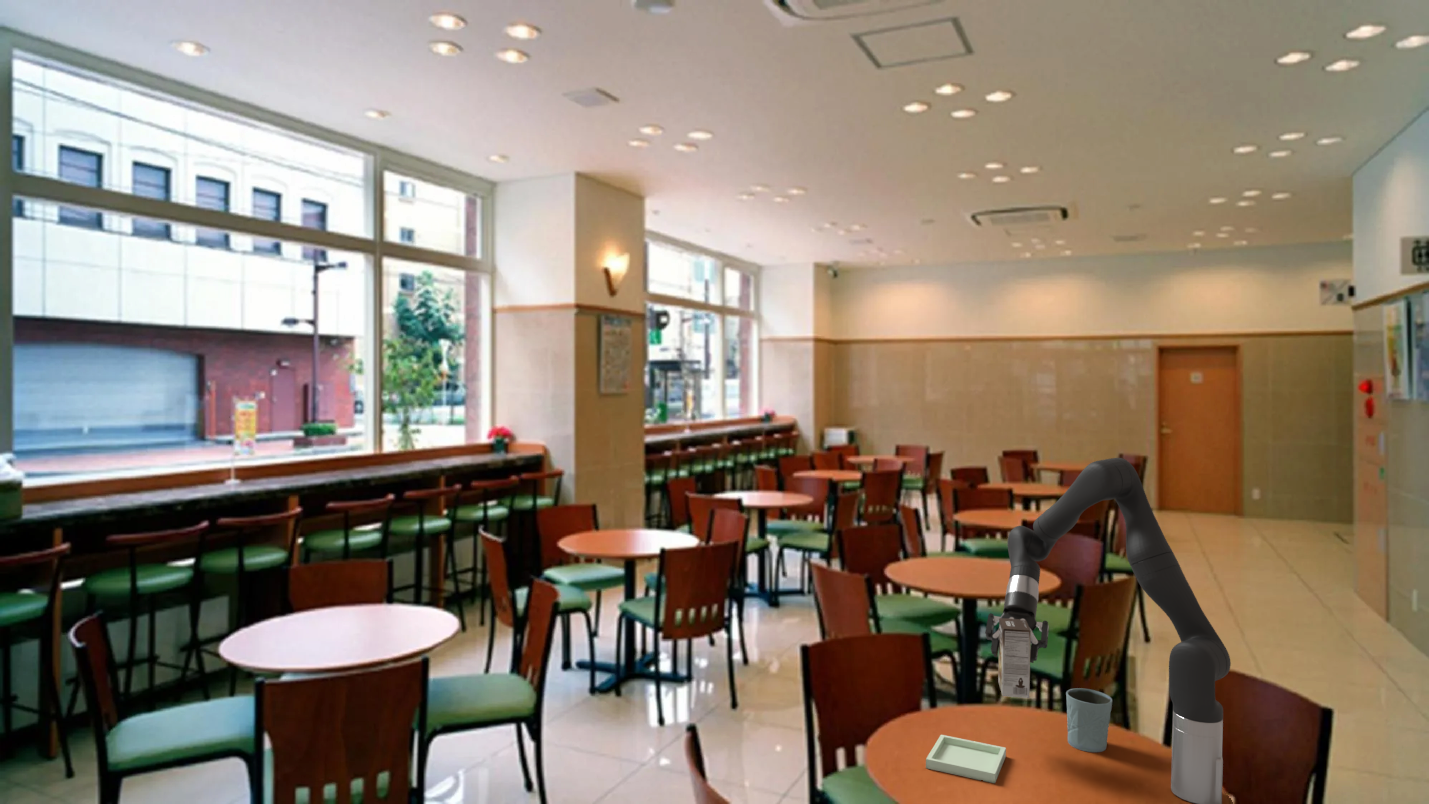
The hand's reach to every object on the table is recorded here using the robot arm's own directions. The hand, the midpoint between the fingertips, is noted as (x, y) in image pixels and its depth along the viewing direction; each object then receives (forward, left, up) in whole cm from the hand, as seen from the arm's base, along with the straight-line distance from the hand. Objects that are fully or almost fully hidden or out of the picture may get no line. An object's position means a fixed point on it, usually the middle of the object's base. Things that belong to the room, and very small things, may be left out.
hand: (1013, 658), depth 199 cm
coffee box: (0, -2, -8) cm, 8 cm away
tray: (+8, +11, -22) cm, 26 cm away
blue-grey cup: (-16, -13, -23) cm, 31 cm away
